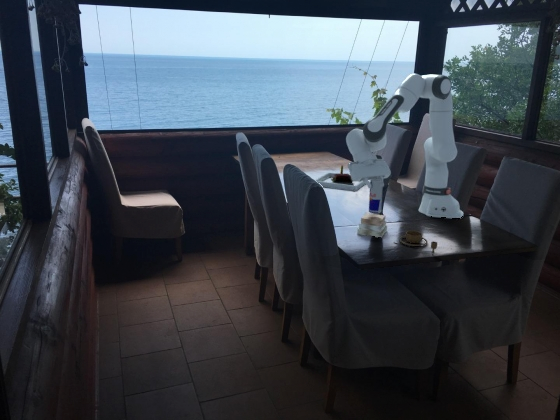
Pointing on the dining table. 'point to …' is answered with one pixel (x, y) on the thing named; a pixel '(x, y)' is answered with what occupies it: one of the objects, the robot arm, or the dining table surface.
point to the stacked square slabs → (372, 225)
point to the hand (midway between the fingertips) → (376, 186)
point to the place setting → (417, 239)
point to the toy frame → (338, 186)
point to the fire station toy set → (342, 178)
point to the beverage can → (375, 196)
